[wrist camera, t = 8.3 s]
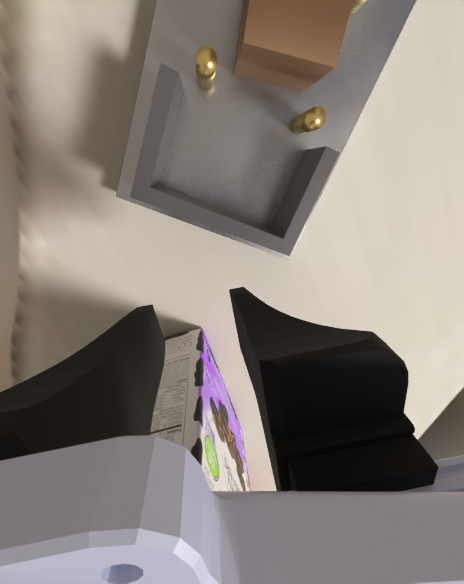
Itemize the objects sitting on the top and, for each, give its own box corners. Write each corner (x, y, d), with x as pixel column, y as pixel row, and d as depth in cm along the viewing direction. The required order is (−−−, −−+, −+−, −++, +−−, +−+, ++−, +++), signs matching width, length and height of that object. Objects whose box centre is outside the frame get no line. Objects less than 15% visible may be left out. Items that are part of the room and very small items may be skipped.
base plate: (226, -290, 10) (236, -507, 7) (451, -94, 13) (535, -182, 10) (121, 194, 17) (101, 201, 14) (284, 255, 20) (300, 272, 17)
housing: (168, 83, 14) (160, 62, 11) (317, 155, 16) (339, 152, 14) (142, 192, 16) (130, 197, 13) (276, 243, 18) (289, 256, 16)
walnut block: (247, -30, 13) (265, -109, 9) (325, -5, 13) (371, -70, 10) (233, 74, 14) (243, 42, 11) (303, 92, 15) (335, 67, 11)
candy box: (244, 431, 28) (290, 729, 13) (190, 445, 28) (176, 757, 13) (203, 324, 22) (204, 650, 7) (136, 344, 22) (-1, 701, 7)
